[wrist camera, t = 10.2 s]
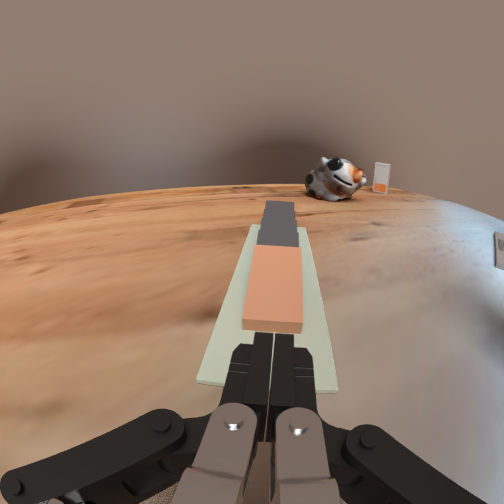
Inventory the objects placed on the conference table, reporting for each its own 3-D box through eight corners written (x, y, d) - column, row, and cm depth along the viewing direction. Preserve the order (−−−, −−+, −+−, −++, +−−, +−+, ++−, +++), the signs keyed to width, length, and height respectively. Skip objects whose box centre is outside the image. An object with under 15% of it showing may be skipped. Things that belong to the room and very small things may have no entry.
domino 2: (296, 249, 38) (295, 211, 46) (258, 246, 38) (264, 209, 46) (295, 258, 39) (294, 219, 47) (258, 256, 39) (264, 217, 47)
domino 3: (298, 266, 33) (296, 220, 41) (254, 263, 33) (261, 217, 41) (296, 276, 34) (295, 229, 42) (254, 273, 34) (261, 227, 42)
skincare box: (372, 191, 105) (375, 162, 100) (374, 190, 108) (377, 162, 104) (386, 194, 102) (389, 164, 97) (388, 193, 105) (391, 164, 100)
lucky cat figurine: (349, 195, 91) (370, 158, 80) (350, 219, 82) (375, 179, 71) (303, 176, 91) (320, 137, 80) (299, 199, 82) (318, 155, 70)
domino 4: (300, 290, 28) (298, 232, 36) (249, 286, 28) (258, 229, 36) (298, 301, 29) (297, 242, 37) (249, 297, 29) (258, 239, 37)
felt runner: (337, 393, 18) (338, 389, 18) (196, 382, 19) (195, 379, 18) (305, 229, 53) (305, 227, 53) (251, 226, 54) (251, 224, 53)
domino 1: (294, 235, 43) (293, 202, 51) (262, 233, 44) (266, 200, 51) (293, 243, 45) (293, 209, 52) (261, 241, 45) (266, 207, 52)
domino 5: (303, 322, 23) (301, 247, 30) (242, 318, 23) (254, 244, 31) (300, 333, 24) (299, 258, 31) (242, 329, 24) (254, 255, 32)
